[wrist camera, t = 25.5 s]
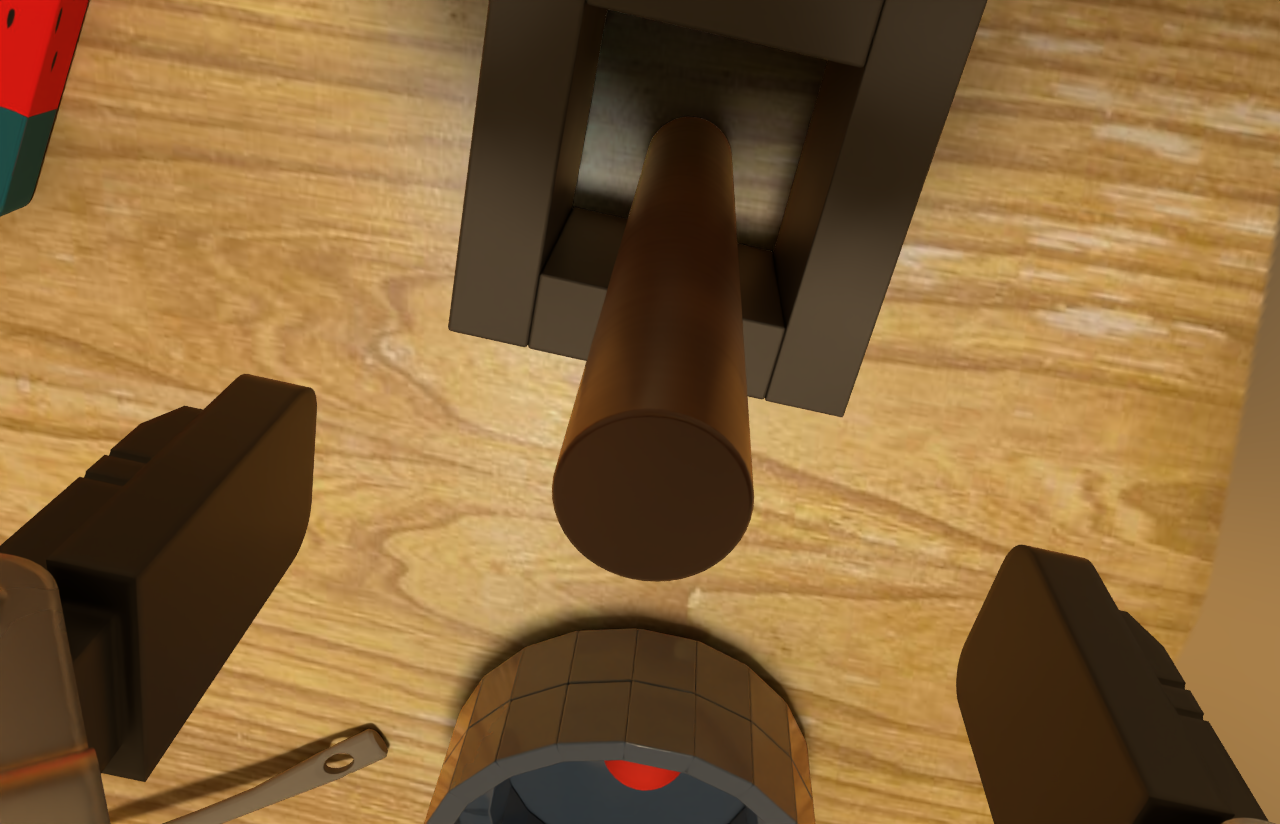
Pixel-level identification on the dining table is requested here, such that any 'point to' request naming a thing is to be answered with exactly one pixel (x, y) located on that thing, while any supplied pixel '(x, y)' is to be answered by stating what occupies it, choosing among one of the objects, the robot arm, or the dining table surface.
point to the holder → (769, 281)
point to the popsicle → (31, 87)
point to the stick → (665, 378)
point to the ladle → (293, 780)
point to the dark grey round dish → (623, 738)
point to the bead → (640, 775)
